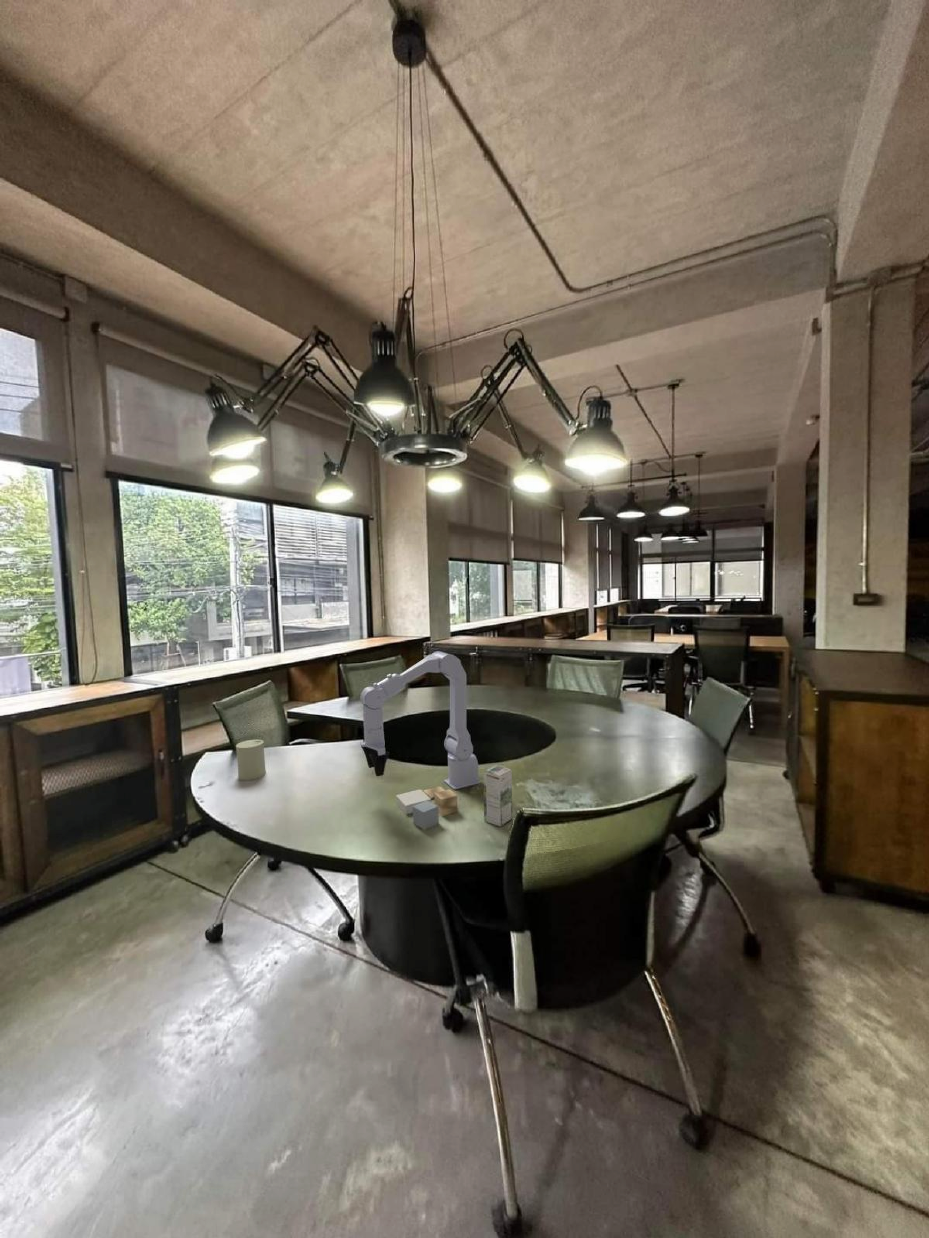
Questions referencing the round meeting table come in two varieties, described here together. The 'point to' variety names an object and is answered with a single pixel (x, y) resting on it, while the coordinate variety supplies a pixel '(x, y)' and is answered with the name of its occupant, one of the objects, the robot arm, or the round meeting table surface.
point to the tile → (433, 791)
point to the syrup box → (497, 795)
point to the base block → (411, 800)
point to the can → (250, 759)
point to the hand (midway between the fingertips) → (375, 771)
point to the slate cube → (425, 815)
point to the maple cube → (446, 802)
